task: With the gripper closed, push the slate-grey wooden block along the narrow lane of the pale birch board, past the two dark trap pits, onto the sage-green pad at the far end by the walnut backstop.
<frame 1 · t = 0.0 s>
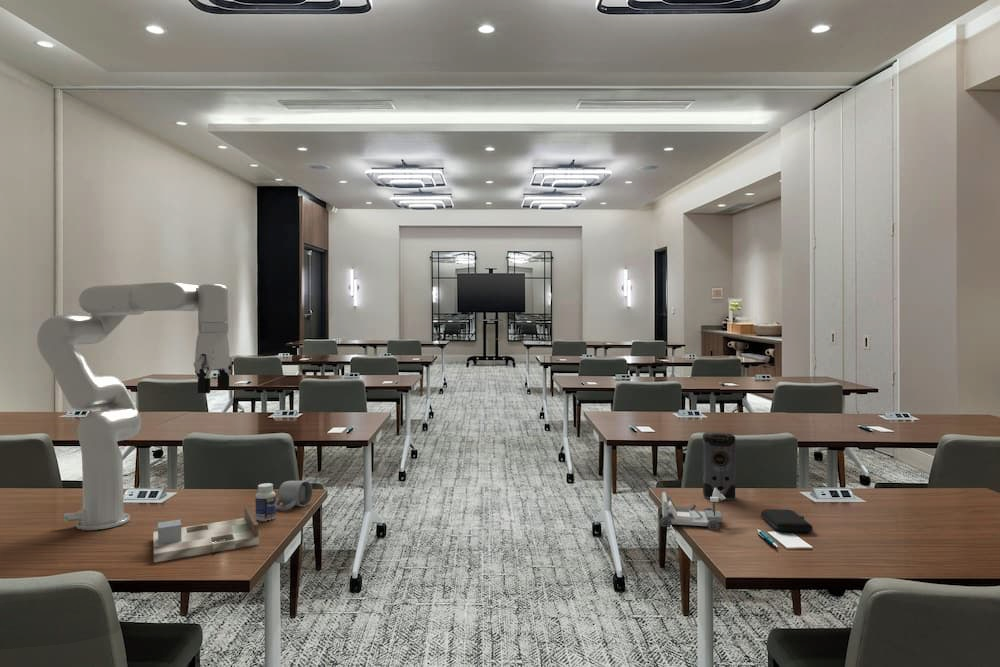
hand: (214, 391, 168), 37 cm above the table, tool pointing down, fingers open, 9 cm apart
toy car: (692, 523, 169), on the table
pill bottle: (265, 519, 174), on the table
electronic device: (718, 498, 193), on the table
ceramic mug: (292, 507, 186), on the table
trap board: (205, 541, 155), on the table
block: (169, 539, 151), point 2 cm above the table, touching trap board
carrying case or bag: (787, 527, 166), on the table
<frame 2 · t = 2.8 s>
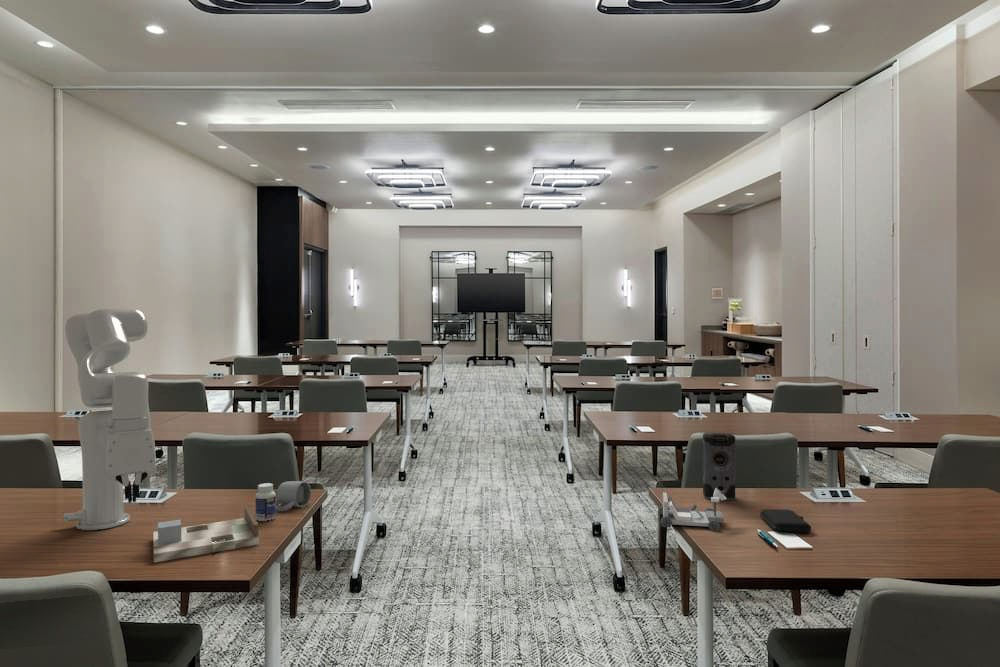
hand: (132, 501, 147), 13 cm above the table, tool pointing down, fingers closed
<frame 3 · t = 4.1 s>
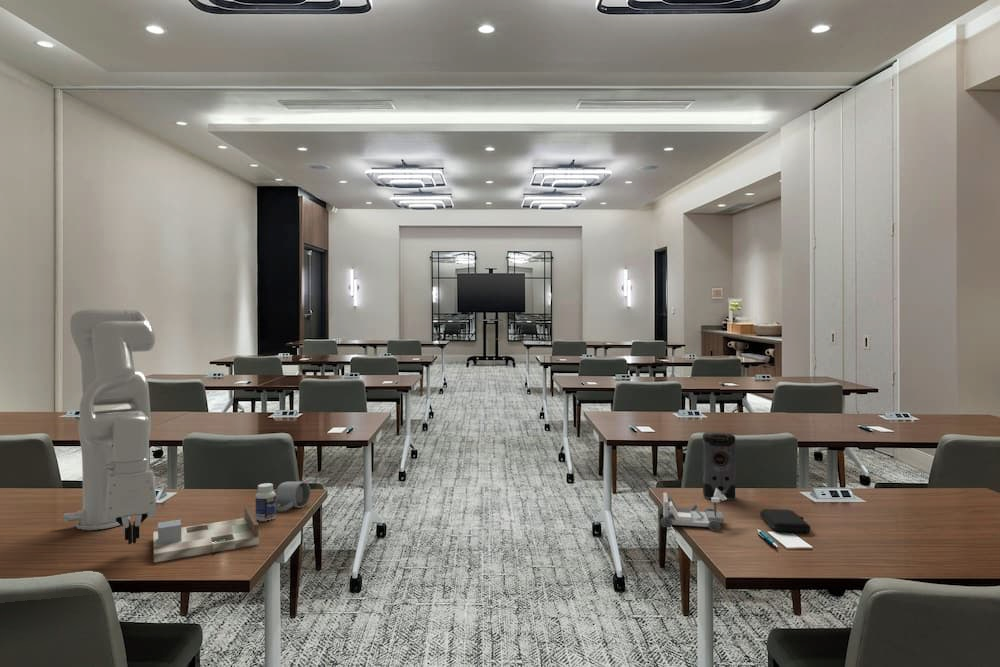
hand: (132, 541, 147), 3 cm above the table, tool pointing down, fingers closed
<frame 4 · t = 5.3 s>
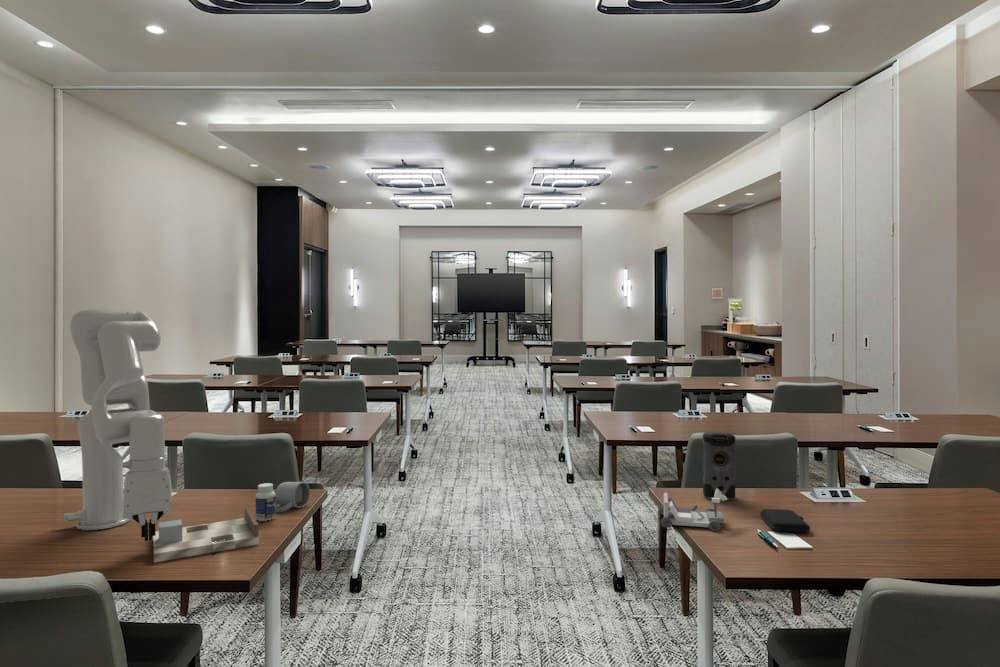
hand: (148, 539, 149), 3 cm above the table, tool pointing down, fingers closed
block: (170, 539, 151), point 2 cm above the table, touching gripper
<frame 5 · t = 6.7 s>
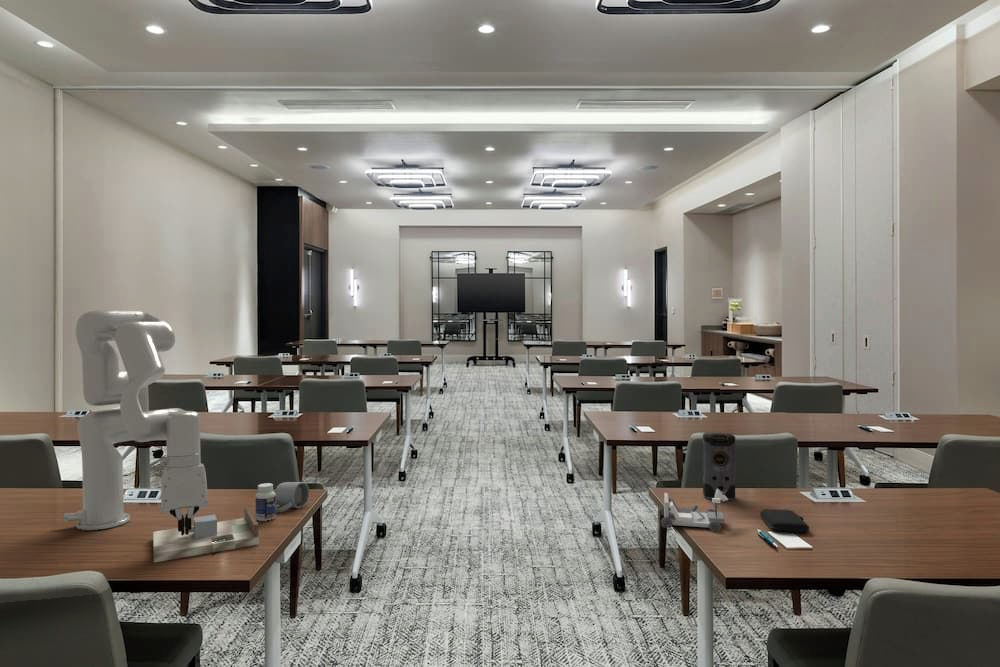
hand: (184, 533, 153), 3 cm above the table, tool pointing down, fingers closed
block: (205, 534, 155), point 2 cm above the table, touching gripper, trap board
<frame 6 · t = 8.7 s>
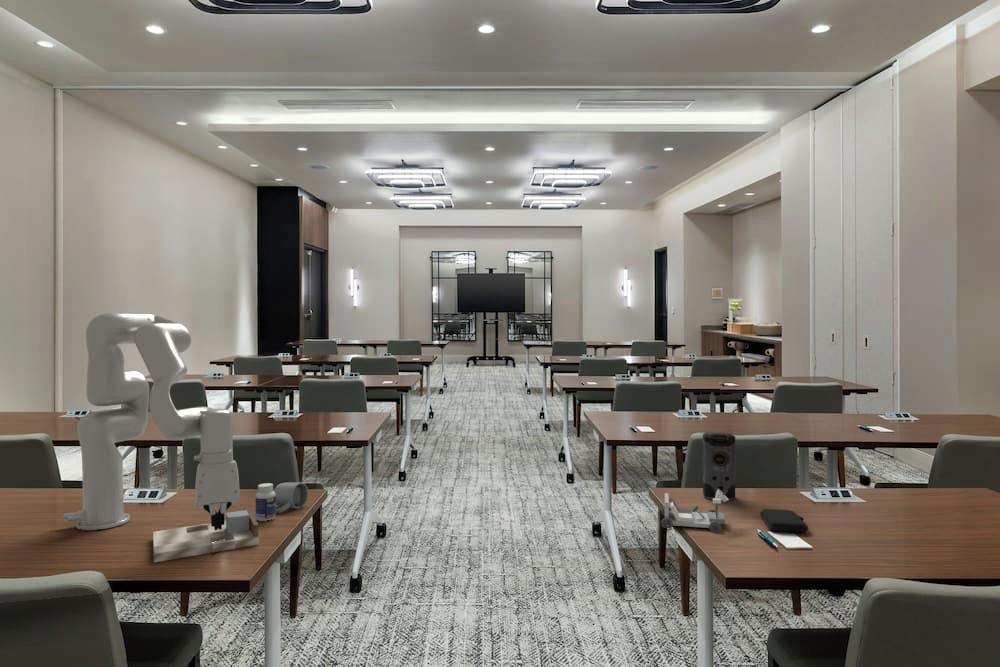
hand: (217, 528, 157), 3 cm above the table, tool pointing down, fingers closed
block: (237, 529, 159), point 2 cm above the table, touching gripper, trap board
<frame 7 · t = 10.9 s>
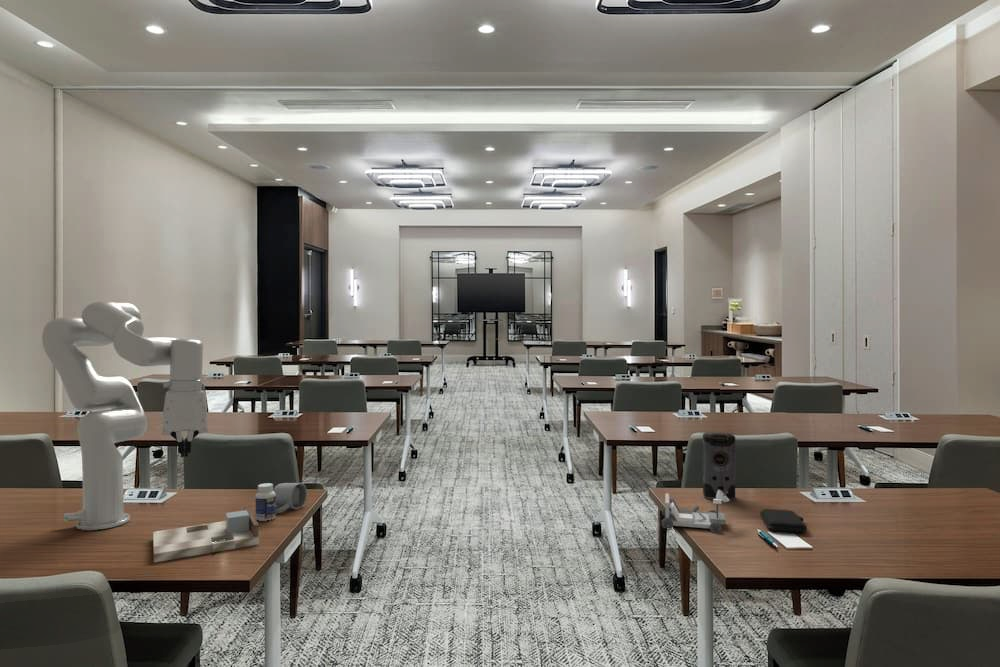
hand: (184, 455, 159), 21 cm above the table, tool pointing down, fingers closed
block: (237, 529, 159), point 2 cm above the table, touching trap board
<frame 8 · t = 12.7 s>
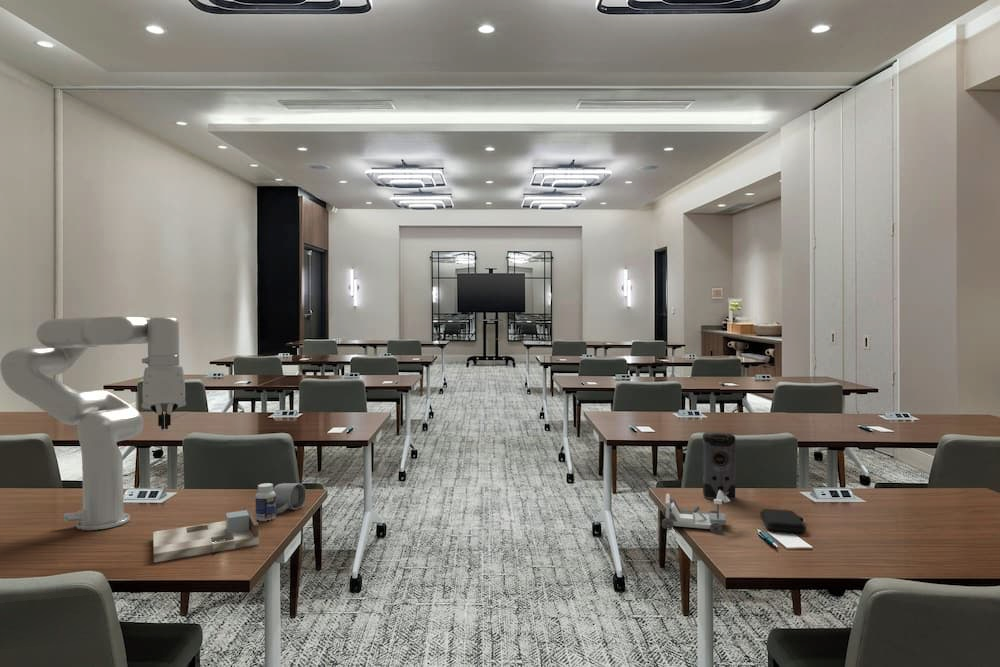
hand: (164, 428, 167), 27 cm above the table, tool pointing down, fingers closed
at the end: block 0.4 cm from the target spot on the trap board, point 2.0 cm above the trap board's base; block tilted 0° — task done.
